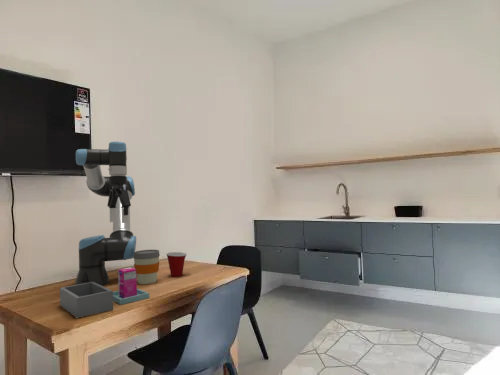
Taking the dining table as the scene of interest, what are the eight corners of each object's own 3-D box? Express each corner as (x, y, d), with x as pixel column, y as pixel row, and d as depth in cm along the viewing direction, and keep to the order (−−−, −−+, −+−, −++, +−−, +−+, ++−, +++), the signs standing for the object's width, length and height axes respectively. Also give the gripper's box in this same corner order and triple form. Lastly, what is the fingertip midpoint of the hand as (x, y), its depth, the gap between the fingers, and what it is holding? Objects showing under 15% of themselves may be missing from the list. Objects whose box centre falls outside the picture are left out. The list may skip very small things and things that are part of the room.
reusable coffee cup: (164, 279, 172) (164, 249, 173) (152, 285, 160) (151, 253, 160) (142, 278, 175) (142, 249, 175) (128, 284, 163) (128, 253, 163)
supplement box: (118, 296, 140) (117, 269, 141) (132, 293, 144) (131, 266, 145) (123, 299, 136) (123, 271, 136) (137, 296, 140) (137, 268, 140)
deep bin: (60, 305, 132) (59, 287, 132) (93, 298, 141) (92, 281, 141) (77, 318, 117) (76, 298, 117) (113, 309, 125) (112, 290, 125)
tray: (106, 297, 141) (106, 293, 141) (134, 291, 149) (134, 287, 149) (120, 304, 131) (120, 299, 131) (149, 297, 139) (149, 293, 139)
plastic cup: (185, 277, 173) (184, 254, 174) (164, 278, 174) (163, 255, 174) (189, 273, 184) (188, 251, 185) (169, 273, 185) (169, 251, 185)
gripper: (99, 177, 160) (100, 222, 159) (121, 173, 142) (122, 223, 141) (115, 177, 165) (116, 221, 165) (138, 174, 147) (139, 222, 147)
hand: (118, 222), depth 153 cm, fingers open, 13 cm apart
